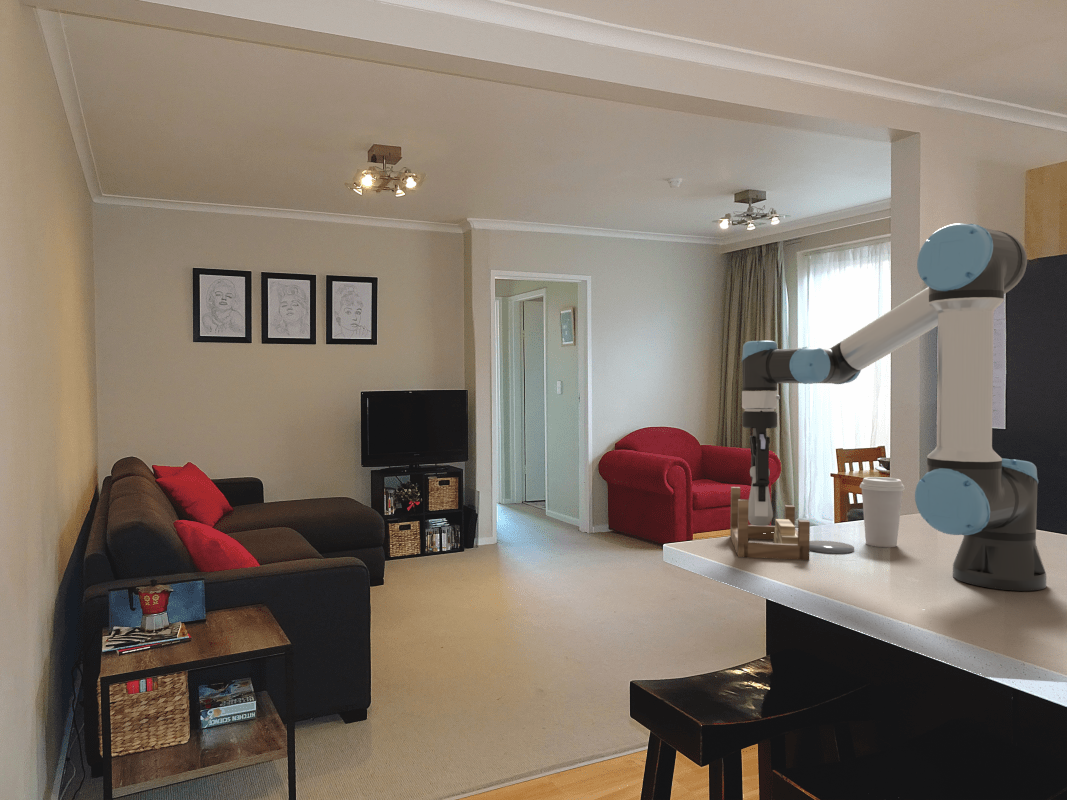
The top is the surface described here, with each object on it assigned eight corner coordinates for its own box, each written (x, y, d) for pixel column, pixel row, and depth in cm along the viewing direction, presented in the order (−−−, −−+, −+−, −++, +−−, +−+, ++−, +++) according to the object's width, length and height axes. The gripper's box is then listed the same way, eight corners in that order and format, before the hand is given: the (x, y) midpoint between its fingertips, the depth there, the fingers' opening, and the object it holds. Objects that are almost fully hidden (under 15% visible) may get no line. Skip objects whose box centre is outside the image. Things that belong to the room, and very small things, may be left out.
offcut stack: (798, 555, 168) (798, 529, 168) (782, 554, 168) (782, 528, 168) (788, 542, 181) (789, 518, 181) (773, 541, 182) (774, 517, 182)
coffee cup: (911, 549, 175) (913, 482, 175) (868, 548, 175) (869, 481, 175) (893, 540, 185) (894, 476, 184) (852, 539, 185) (853, 476, 184)
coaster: (859, 554, 169) (859, 551, 169) (806, 552, 171) (806, 549, 171) (848, 544, 180) (848, 541, 180) (798, 542, 182) (798, 539, 182)
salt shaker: (743, 525, 174) (743, 466, 174) (749, 521, 179) (749, 464, 179) (770, 527, 172) (770, 468, 171) (775, 523, 177) (775, 465, 176)
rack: (809, 560, 164) (810, 502, 163) (738, 557, 166) (738, 500, 166) (793, 539, 185) (793, 488, 185) (730, 536, 188) (730, 486, 187)
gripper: (783, 411, 165) (782, 521, 166) (771, 409, 184) (771, 507, 184) (746, 411, 167) (746, 520, 167) (738, 409, 185) (738, 507, 185)
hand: (759, 513), depth 175 cm, fingers closed on salt shaker, 6 cm apart
